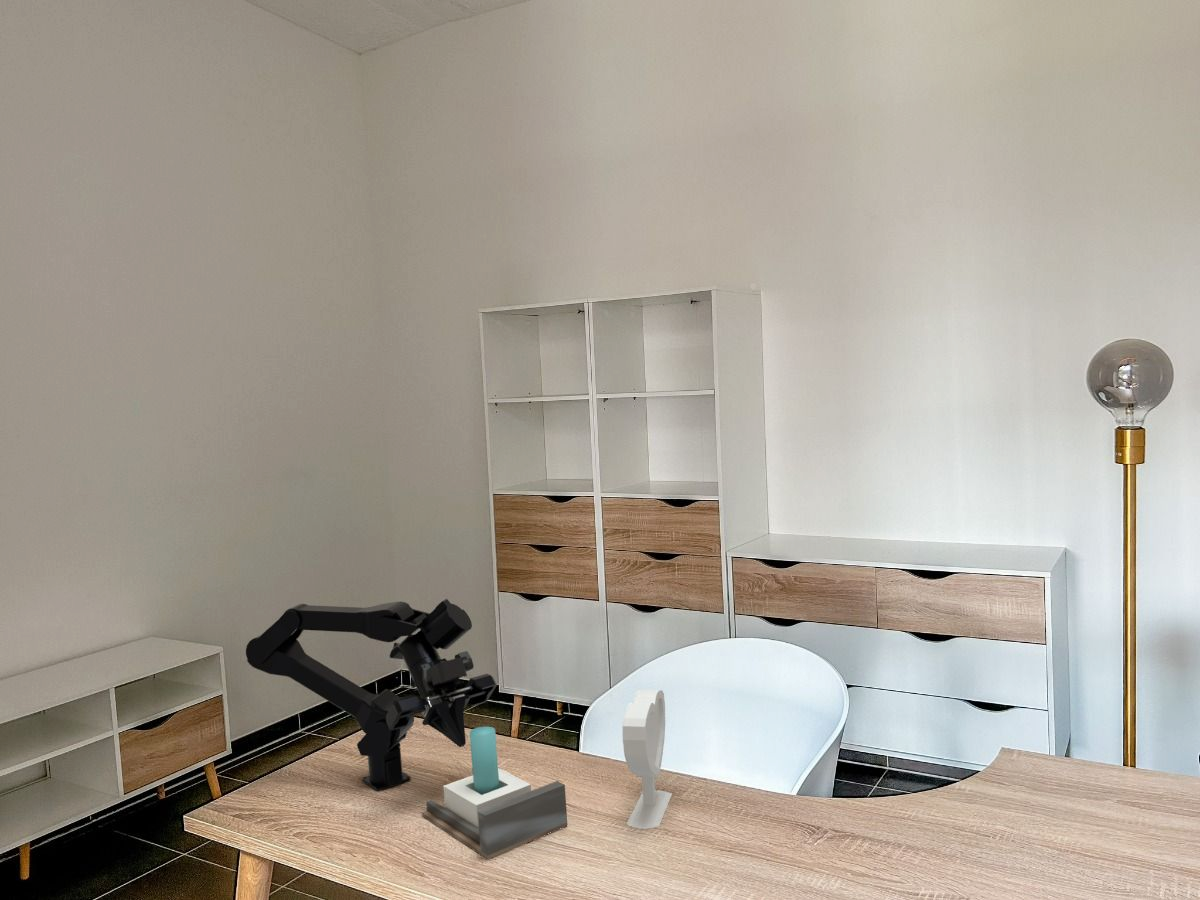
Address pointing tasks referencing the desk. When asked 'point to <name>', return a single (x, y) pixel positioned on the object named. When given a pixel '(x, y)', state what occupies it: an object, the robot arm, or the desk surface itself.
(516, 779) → the socket block
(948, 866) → the desk surface
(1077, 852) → the desk surface
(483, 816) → the rail board
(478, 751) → the dowel
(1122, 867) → the desk surface
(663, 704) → the heart sculpture
